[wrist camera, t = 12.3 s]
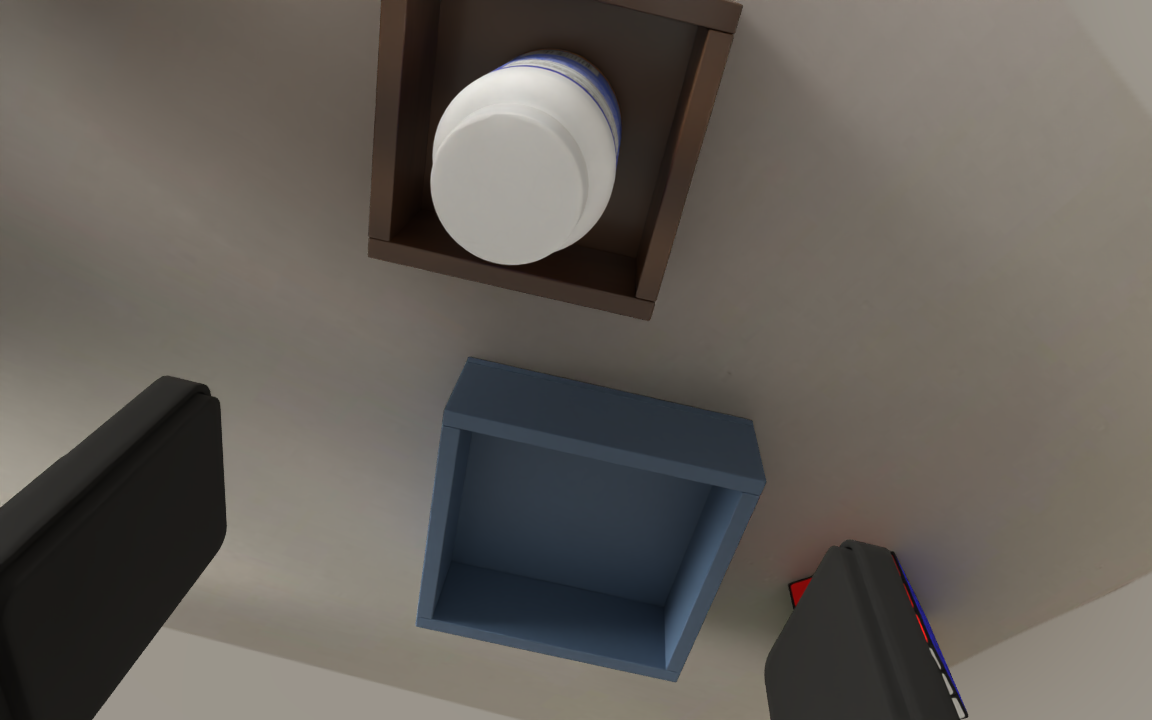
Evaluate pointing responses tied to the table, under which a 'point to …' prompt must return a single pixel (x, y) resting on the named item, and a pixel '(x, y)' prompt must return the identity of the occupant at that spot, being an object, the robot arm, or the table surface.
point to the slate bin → (583, 518)
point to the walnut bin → (648, 143)
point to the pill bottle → (527, 157)
